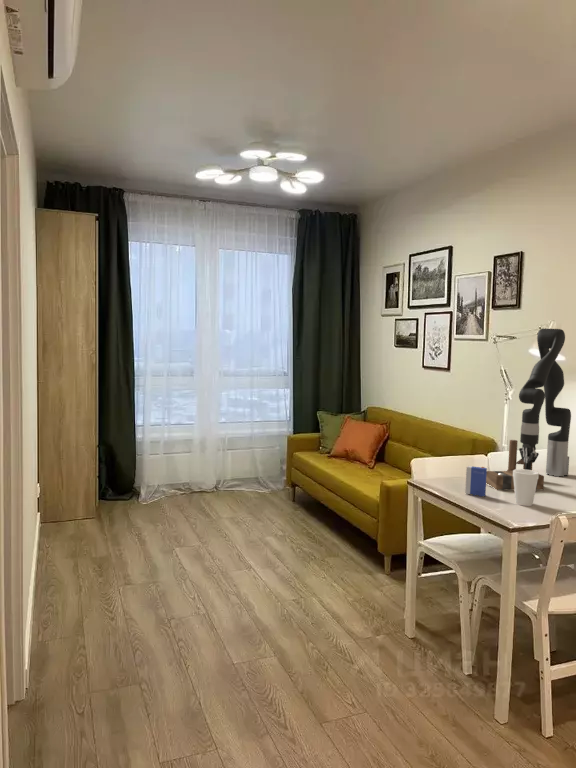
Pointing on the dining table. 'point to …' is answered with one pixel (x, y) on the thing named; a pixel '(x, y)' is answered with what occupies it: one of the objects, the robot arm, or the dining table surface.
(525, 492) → the foam cup
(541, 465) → the dining table surface
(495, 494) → the dining table surface
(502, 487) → the band block
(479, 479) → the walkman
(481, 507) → the dining table surface
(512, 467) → the wooden post with wedge
